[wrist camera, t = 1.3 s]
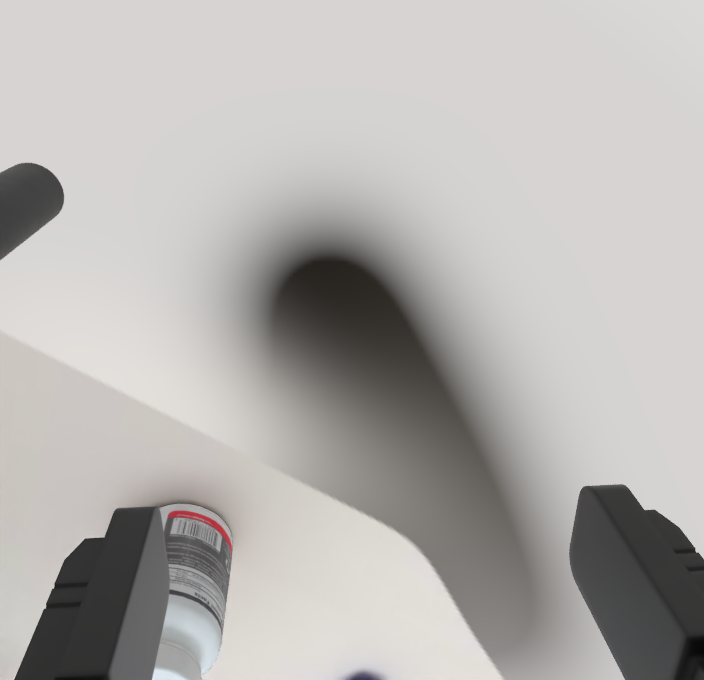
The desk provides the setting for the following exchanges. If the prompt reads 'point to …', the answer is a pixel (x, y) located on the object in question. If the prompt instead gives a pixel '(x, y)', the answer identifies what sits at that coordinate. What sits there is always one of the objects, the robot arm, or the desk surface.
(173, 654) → the pill bottle
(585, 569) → the robot arm
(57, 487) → the desk surface
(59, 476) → the desk surface
